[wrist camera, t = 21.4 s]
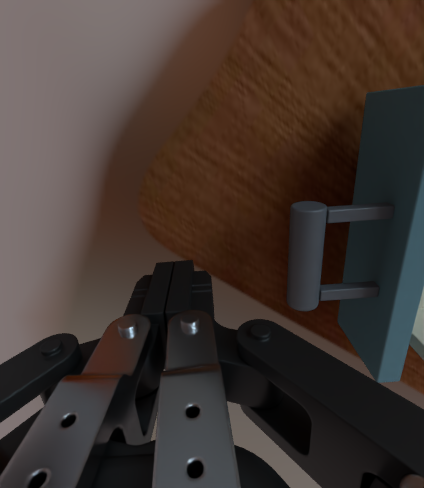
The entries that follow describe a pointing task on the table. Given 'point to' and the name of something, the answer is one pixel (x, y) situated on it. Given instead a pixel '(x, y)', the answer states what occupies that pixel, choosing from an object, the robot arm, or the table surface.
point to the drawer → (373, 238)
